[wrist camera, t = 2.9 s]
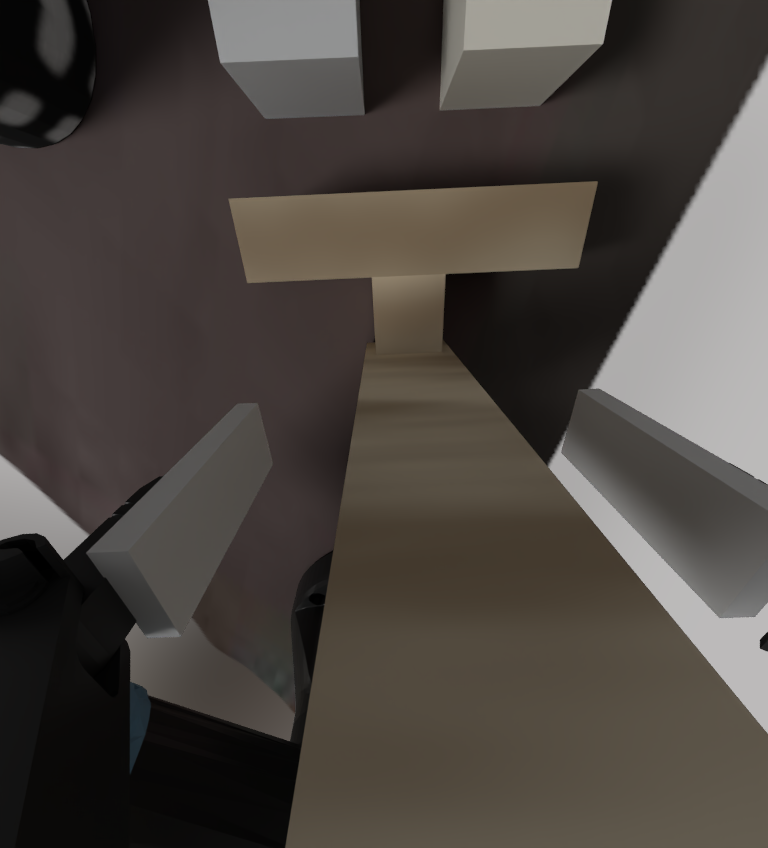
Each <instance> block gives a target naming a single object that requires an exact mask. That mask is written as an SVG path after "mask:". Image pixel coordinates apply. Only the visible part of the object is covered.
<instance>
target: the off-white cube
mask: <svg viewBox="0 0 768 848" xmlns="http://www.w3.org/2000/svg"><path fill="white" fill-rule="evenodd" d="M611 3H612V0H444V1H443V30H442V59H441V88H440V110H461V109H483V108H505V107H526V106H540V105H541V104H542V103H543V102H544V101H545V100H546V99H547V98H548V97H549V96H550V95H552V94H553V93H554V92H555V91H556V90H557V89H558V88H559V87H560V86H561V85H562V84H563V83H564V82H565V81H566V80H567V79H568V78H569V77H570V76H571V75H572V74H573V73H574V72H575V71H576V70H577V69H578V68H579V67H580V66H581V65H582V64H583V63H584V62H585V61H586V60H587V59H588V58H589V57H590V56H591V55H592V54H593V53H594V52H595V51H596V50H597V49H599V48H600V47H601V46H602V45H603V42H604V37H605V32H606V27H607V23H608V18H609V13H610V8H611Z"/></svg>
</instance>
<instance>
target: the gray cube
mask: <svg viewBox="0 0 768 848" xmlns="http://www.w3.org/2000/svg"><path fill="white" fill-rule="evenodd" d="M208 3H209V8H210V13H211V18H212V23H213V28H214V33H215V38H216V44H217V49H218V54H219V59H220V63H221V64H222V66H223V67H224V68H225V69H226V71H227V72H228V73H229V74H230V76H231V77H232V78H233V79H234V80H235V82H236V83H237V84H238V85H239V87H240V88H241V89H242V90H243V92H244V93H245V94H246V95H247V97H248V98H249V99H250V100H251V102H252V103H253V104H254V105H255V107H256V108H257V109H258V110H259V112H260V113H261V114H262V115H263V116H264V118H265V119H276V118H300V117H325V116H350V115H365V109H364V88H363V66H362V44H361V23H360V1H359V0H208Z"/></svg>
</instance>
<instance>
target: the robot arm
mask: <svg viewBox="0 0 768 848" xmlns="http://www.w3.org/2000/svg"><path fill="white" fill-rule="evenodd" d="M562 454H563V455H564V456H565V457H566V458H567V459H568V460H569V461H570V462H571V463H572V464H573V465H574V466H575V467H576V468H577V469H578V470H579V471H580V472H581V473H582V475H583V476H584V477H585V478H586V479H587V480H588V481H589V482H590V483H591V484H592V485H593V486H594V487H595V488H596V489H597V490H598V491H599V492H600V493H601V494H602V495H603V497H605V498H606V500H608V502H609V503H610V504H611V505H612V506H613V507H614V508H615V509H616V510H617V511H618V512H619V513H620V514H621V515H622V516H623V517H624V518H625V520H626V521H628V523H629V524H630V525H631V526H632V527H633V528H634V529H635V530H636V531H637V532H638V533H639V534H640V535H641V536H642V537H643V538H644V539H645V540H646V541H647V542H648V544H649V545H650V546H651V547H652V548H653V549H654V550H655V551H656V552H657V553H658V554H659V555H660V556H661V557H662V558H663V559H664V560H665V561H666V562H667V563H668V564H669V565H670V566H671V568H672V569H673V570H674V571H675V572H676V573H677V574H678V575H679V576H680V577H681V578H682V579H683V580H684V581H685V582H686V583H687V584H688V585H689V586H690V587H691V589H692V590H693V591H695V593H696V594H697V595H698V596H699V597H700V598H701V599H702V600H703V601H704V602H705V603H706V604H707V605H708V606H709V607H710V608H711V609H712V610H713V611H714V613H715V614H717V616H718V617H719V618H733V617H755V616H756V615H757V614H758V613H759V611H760V610H761V609H762V608H763V607H764V606H765V605H766V604H767V602H768V485H767V484H766V483H764V482H762V481H761V480H758V479H755V478H754V477H753V476H752V475H750V474H748V473H747V472H745V471H743V470H741V469H740V468H738V467H736V466H734V465H732V464H730V463H728V462H726V461H724V460H722V459H721V458H719V457H717V456H715V455H714V454H712V453H710V452H709V451H707V450H705V449H703V448H702V447H700V446H698V445H696V444H694V443H693V442H691V441H689V440H688V439H686V438H684V437H682V436H681V435H679V434H677V433H675V432H674V431H672V430H670V429H668V428H667V427H665V426H663V425H661V424H660V423H658V422H656V421H655V420H653V419H651V418H649V417H647V416H646V415H644V414H642V413H641V412H639V411H637V410H635V409H634V408H632V407H630V406H628V405H627V404H625V403H623V402H621V401H620V400H618V399H616V398H614V397H613V396H611V395H609V394H607V393H606V392H604V391H602V390H600V389H582V390H578V393H577V397H576V400H575V404H574V408H573V411H572V415H571V419H570V422H569V426H568V430H567V433H566V437H565V441H564V444H563V448H562ZM272 465H273V461H272V458H271V454H270V450H269V446H268V442H267V438H266V434H265V430H264V426H263V422H262V418H261V414H260V410H259V406H258V403H245V404H237V405H236V406H235V407H234V408H233V409H231V410H230V411H229V412H228V413H227V414H226V415H225V416H224V417H223V418H222V419H221V420H220V421H219V422H218V423H217V424H216V425H215V426H214V427H213V428H212V429H211V430H210V431H209V432H208V433H207V434H206V435H205V436H204V437H203V438H202V439H201V440H200V441H199V442H198V443H197V444H196V445H195V446H194V447H193V448H192V449H191V450H190V451H189V452H188V453H187V454H186V455H185V456H184V457H183V458H182V459H181V460H180V461H179V462H178V463H177V464H176V465H175V466H174V467H173V468H172V469H171V470H170V471H169V472H168V473H167V474H166V475H165V476H162V477H158V478H156V479H155V480H153V481H151V482H150V483H148V484H146V485H145V486H143V487H142V488H140V489H139V490H138V491H137V492H136V493H134V494H133V495H132V496H131V497H130V498H129V499H128V500H127V501H126V502H125V505H122V506H121V507H120V508H118V509H117V510H116V511H115V512H114V513H113V514H112V517H111V518H108V519H107V520H106V521H105V522H104V523H103V524H101V525H100V526H99V527H98V528H97V529H96V530H95V531H94V532H93V533H92V534H91V535H90V536H89V537H88V538H87V539H85V540H84V542H82V543H81V544H80V545H79V546H78V547H77V548H76V549H75V550H74V551H73V552H72V553H71V554H70V555H69V556H67V557H66V558H65V559H64V560H63V559H62V558H61V557H60V555H59V554H58V553H57V552H56V550H55V549H54V548H53V547H52V545H51V544H50V543H49V541H48V540H47V539H46V538H45V537H44V536H42V535H39V534H37V533H35V534H22V535H18V536H14V537H11V538H7V539H3V540H1V541H0V848H285V846H286V840H287V834H288V827H289V821H290V815H291V809H292V803H293V797H294V790H295V784H296V778H297V772H298V766H299V760H300V754H301V747H302V741H303V735H304V729H305V723H306V717H307V710H308V704H309V698H310V692H311V686H312V680H313V673H314V667H315V661H316V655H317V649H318V643H319V636H320V630H321V624H322V618H323V612H324V606H325V599H326V593H327V587H328V581H329V575H330V569H331V562H332V556H333V552H332V553H330V554H328V555H326V556H324V557H323V558H321V559H320V560H318V561H317V562H315V563H314V564H313V565H312V566H311V567H310V568H309V569H308V570H307V571H306V572H305V574H304V575H303V577H302V579H301V580H300V583H299V585H298V589H297V593H296V597H295V601H294V605H293V609H292V615H291V635H292V651H293V668H294V685H295V702H296V709H295V717H294V723H293V729H292V734H291V739H290V741H287V740H284V739H281V738H277V737H274V736H272V735H268V734H265V733H262V732H259V731H256V730H253V729H250V728H247V727H244V726H241V725H238V724H235V723H232V722H229V721H225V720H222V719H219V718H216V717H213V716H210V715H207V714H204V713H201V712H198V711H195V710H191V709H189V708H186V707H183V706H180V705H177V704H173V703H170V702H167V701H164V700H161V699H158V698H155V697H152V696H149V695H148V694H147V690H146V689H145V688H143V687H142V686H140V685H138V684H135V683H132V682H130V649H129V646H128V643H127V641H126V640H125V638H126V636H127V635H128V633H129V632H130V630H131V629H132V627H133V626H134V624H135V623H137V625H138V626H139V628H140V629H141V630H142V632H143V633H144V635H145V636H146V637H147V638H157V637H181V636H182V634H183V632H184V630H185V628H186V626H187V624H188V623H189V620H190V619H191V617H192V615H193V613H194V611H195V609H196V608H197V606H198V604H199V602H200V600H201V598H202V596H203V594H204V593H205V591H206V589H207V587H208V585H209V583H210V581H211V579H212V578H213V576H214V574H215V572H216V570H217V568H218V566H219V564H220V563H221V561H222V559H223V557H224V555H225V553H226V551H227V549H228V548H229V546H230V544H231V542H232V540H233V538H234V536H235V534H236V533H237V531H238V529H239V527H240V525H241V523H242V521H243V519H244V518H245V516H246V514H247V512H248V510H249V508H250V506H251V504H252V503H253V501H254V499H255V497H256V495H257V493H258V491H259V489H260V488H261V486H262V484H263V482H264V480H265V478H266V476H267V474H268V473H269V471H270V469H271V467H272ZM760 649H763V650H765V651H768V632H767V633H766V634H765V635H764V636H763V637H762V638H761V639H760Z"/></svg>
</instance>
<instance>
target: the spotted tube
mask: <svg viewBox="0 0 768 848" xmlns="http://www.w3.org/2000/svg"><path fill="white" fill-rule="evenodd" d="M94 80H95V41H94V35H93V28H92V21H91V15H90V11H89V8H88V4H87V1H86V0H0V144H4V145H8V146H12V147H16V148H40V147H44V146H48V145H51V144H55V143H57V142H58V141H60V140H62V139H63V138H65V137H66V136H68V135H69V134H71V133H72V131H73V130H74V129H75V128H76V127H77V125H78V124H79V123H80V122H81V120H82V119H83V117H84V115H85V112H86V110H87V108H88V105H89V103H90V101H91V97H92V91H93V86H94Z"/></svg>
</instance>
